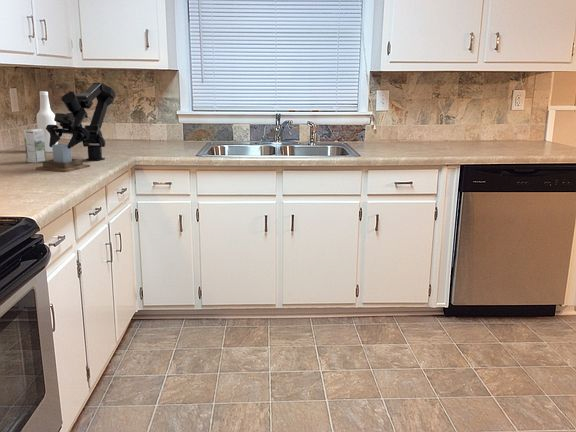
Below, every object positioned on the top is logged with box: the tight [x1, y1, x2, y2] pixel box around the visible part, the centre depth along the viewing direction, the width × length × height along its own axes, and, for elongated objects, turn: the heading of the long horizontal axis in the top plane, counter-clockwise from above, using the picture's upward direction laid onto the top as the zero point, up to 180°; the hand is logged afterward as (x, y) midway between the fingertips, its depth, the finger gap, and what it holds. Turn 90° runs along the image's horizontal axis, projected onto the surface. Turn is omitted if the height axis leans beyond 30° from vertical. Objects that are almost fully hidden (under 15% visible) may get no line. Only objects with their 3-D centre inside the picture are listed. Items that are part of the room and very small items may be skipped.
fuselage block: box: [52, 143, 73, 163], centre depth 216 cm, size 5×5×9 cm
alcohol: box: [36, 91, 59, 153], centre depth 260 cm, size 9×9×30 cm
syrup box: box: [23, 128, 47, 164], centre depth 229 cm, size 6×6×14 cm
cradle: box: [35, 158, 91, 173], centre depth 216 cm, size 15×15×3 cm
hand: (59, 147), depth 213 cm, fingers open, 9 cm apart
